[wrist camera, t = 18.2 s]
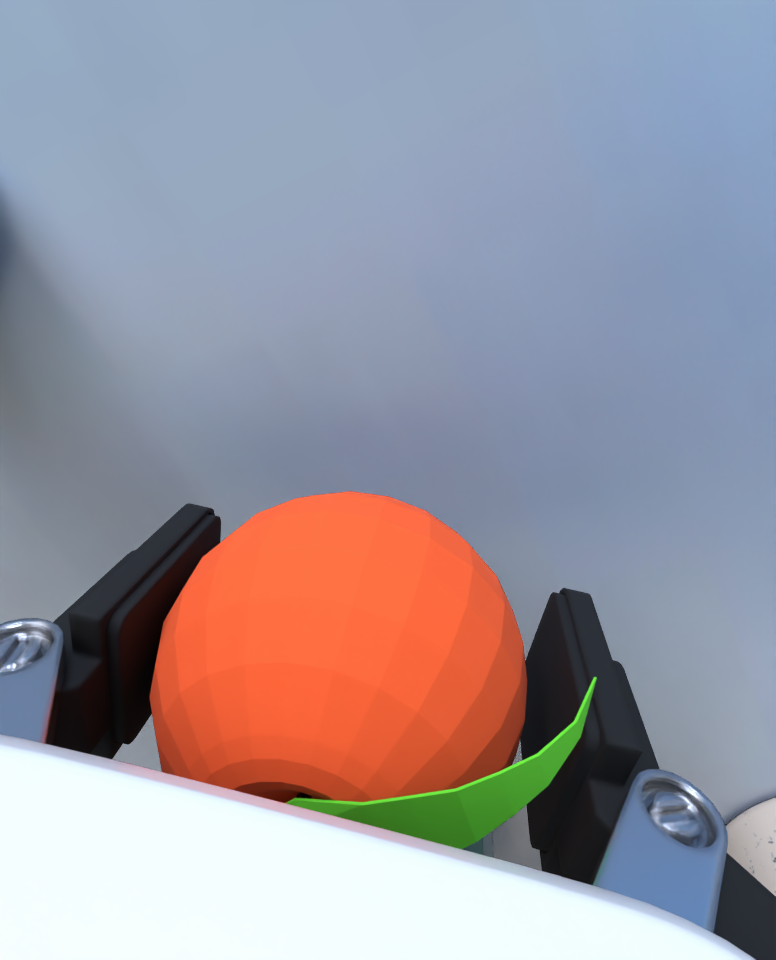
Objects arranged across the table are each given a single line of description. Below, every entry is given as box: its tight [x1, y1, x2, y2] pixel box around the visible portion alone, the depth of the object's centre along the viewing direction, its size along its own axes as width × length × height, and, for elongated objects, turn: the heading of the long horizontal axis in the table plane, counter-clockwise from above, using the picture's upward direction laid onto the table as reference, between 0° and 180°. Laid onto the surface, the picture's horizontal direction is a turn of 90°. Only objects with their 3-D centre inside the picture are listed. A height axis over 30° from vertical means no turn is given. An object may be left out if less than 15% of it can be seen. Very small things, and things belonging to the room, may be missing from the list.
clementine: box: [149, 491, 597, 849], centre depth 10 cm, size 8×7×7 cm
